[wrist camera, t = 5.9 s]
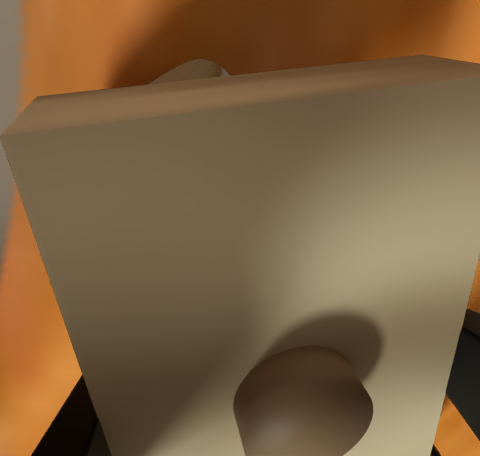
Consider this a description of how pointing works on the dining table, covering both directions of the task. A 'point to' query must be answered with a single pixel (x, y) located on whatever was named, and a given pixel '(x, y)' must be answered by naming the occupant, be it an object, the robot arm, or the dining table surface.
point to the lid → (262, 252)
